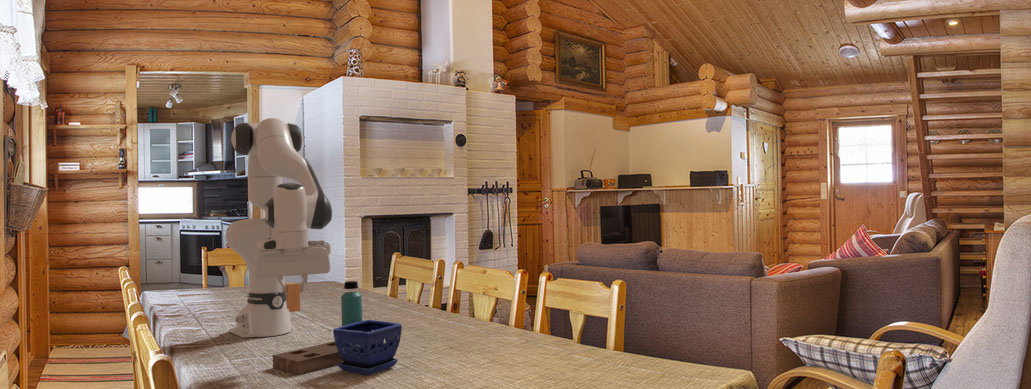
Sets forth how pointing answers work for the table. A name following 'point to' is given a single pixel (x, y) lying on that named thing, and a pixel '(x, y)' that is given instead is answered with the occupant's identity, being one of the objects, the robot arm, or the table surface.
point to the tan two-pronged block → (293, 297)
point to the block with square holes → (308, 359)
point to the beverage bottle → (351, 304)
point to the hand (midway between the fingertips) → (292, 291)
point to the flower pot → (367, 346)
